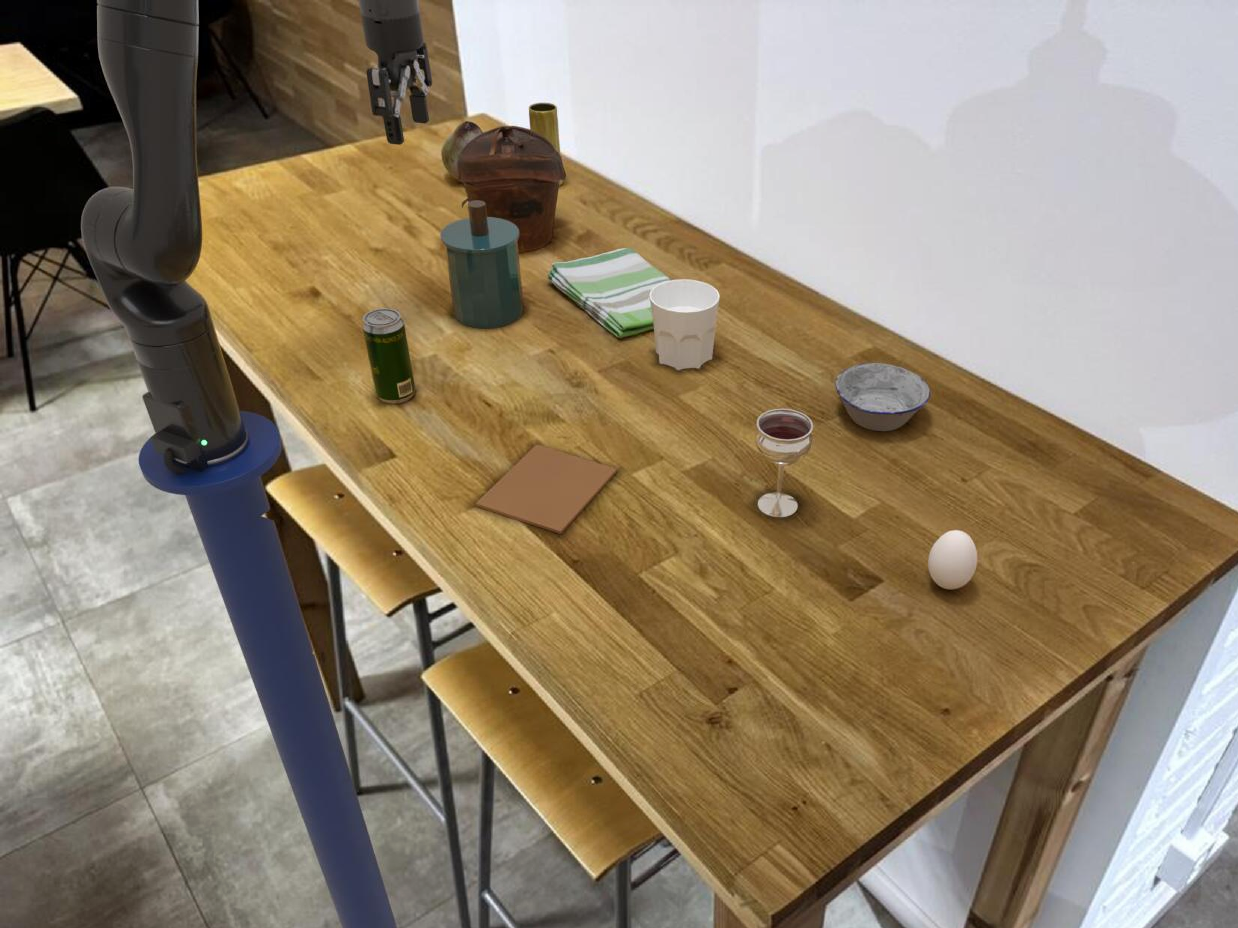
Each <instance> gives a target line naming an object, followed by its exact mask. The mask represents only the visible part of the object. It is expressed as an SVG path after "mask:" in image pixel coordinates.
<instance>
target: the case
mask: <svg viewBox="0 0 1238 928" xmlns="http://www.w3.org/2000/svg"><path fill="white" fill-rule="evenodd" d="M457 176H458V179H459V180H460V181H463V182H462V185H463V188H464V191H465V194H466V197H467V198H466V199H464V200H463V201H462V202H461V208H462V209H463V207H464V206H465V204H466V203H467V204H468V203H469V202H471V201H474V200H480V201H484V202H485V203H486V212H487V217H494V218H500V219H504V220H507V221H510V222H512V223H513V224H515V225H516V226H517V227H518V229H519V234H520V236H519V239H518V241H517V242H518V253H526V252H530V251H534V250H538V249H540V248H542V247H544V246H546V245H548V243H550V241H551V240H552V238H553V237H554V231H555V228H554V227H555V217H556V211H557V204H558V203H557V202H558V195H559V188H560V186H559V183H560V181H559V180H560V179H561V180H564V181H565V180H566V178H567V173H566V170H565V166H564V162H563V158H562V155H561V156H560V154H559V153H558V152H557V151H556V150H555V148H554V146H553V145H552V144H551V143H550V142H549V141H548V140H547V139H546V138H545V137H544V136H542V135H541V134H539V133H537V132H535V131H533V130H530V128H526V127H522V126H518V125H505V126H504V125H502V126H497V127H495V128H492V129H489V130H487V131H486V130H485V131H484V132H483V133H482V134H480V135H478V136H477V137H475V138H474V139H473V140H471V141H470V142H469V143H468V144H467V145H466V146H465V147H464V149H462V151H461V152H460V154H459V155H458V158H457ZM460 181H459V182H460Z"/></svg>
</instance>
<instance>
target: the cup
mask: <svg viewBox="0 0 1238 928" xmlns="http://www.w3.org/2000/svg"><path fill="white" fill-rule="evenodd" d="M670 280H671V281H666V282H663V283H661V284H658V285H657V286H655V287H654V288H653V289H652V290H651V291H650V304H651V312H652V319H653V324H654V329H653V334H654V335H653V336H654V346H655V347H654V348H655V353H656V354H657V355H658V359H659V360H658V361H659V364H660V365H666V366H669V367H671V368H674V369H675V370H677V371H680V370H683V369H685V370H686V369H701V367H702V365H704V364H705V363H706V362H708V361H712V360H713V354H714V345H715V338H716V337H715V335H716V327H717V320H718V319H717V318H718V312H719V306H720V305H719V304H720V296H721V295H720V293H719V291H718V289H717V288H715V286H713V285H711V284H709V283H706V282H704V281H701V280H694V279H683V278H681V279H670Z"/></svg>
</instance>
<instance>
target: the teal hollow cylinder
mask: <svg viewBox="0 0 1238 928" xmlns="http://www.w3.org/2000/svg"><path fill="white" fill-rule="evenodd" d="M444 253H445V259H446V266H447V273H448V280H449V287H450V295H451V301H452V308H453V312H454V317H455V319H456V320H457V321H458V322H459V323H461V324H463V325H465V326H468V327H471V328H476V329H496V328H502V327H505V326H508V325H511V324H513V323H514V322H517V321H518V320H519V319H521V317H522V315H523V313H524V297H523V287H522V286H523V285H522V276H521V275H522V274H521V263H520V255H519V253H520V252H518V242H516V243H514V244H513V245H512V246H510V247H508V248H505V249H503V250H499V251H495V252H490V253H464V252H458V251H455V250H452V249H450V248H448V247H446V246H445V245H444Z"/></svg>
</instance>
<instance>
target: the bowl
mask: <svg viewBox="0 0 1238 928" xmlns="http://www.w3.org/2000/svg"><path fill="white" fill-rule="evenodd" d="M834 388H835V389H836V393H837V395H838V396H839V399H840V400H841V402H842V403H843V406H844V408H845V410H846V412H847V414H848V415H849V417H850V420H852V421H853V422H854V423H855V424H856V425H858V426H860V427H861V428H864V429H866V430H867V429H868V430H871V431H875V432H889V431H894V430H897V429H900V428H901V427H903V426H904V425H905V424H907V422H908V421H909V420H911V418H912V417H913V416H914V415H915V414H916V413H917V412H918V411H919V410H920V409H922V408H923V407H924V406H925V405H926V404H927V403H928V401H929V400H930V397H931V389H930V387H929V384H928V382H926V380H925V381H924V379H923V378H922V377H921V376H920V375H918V374H916V373H915V372H913V371H910V370H908V369H906V368H904V367H902V366H897V365H894V364H889V363H881V362H868V363H862V364H857V365H853V366H851V367H849V368H847V369H845V370H843V371H842V372H841V373H839V374H837V375H836V377H835V379H834Z"/></svg>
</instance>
